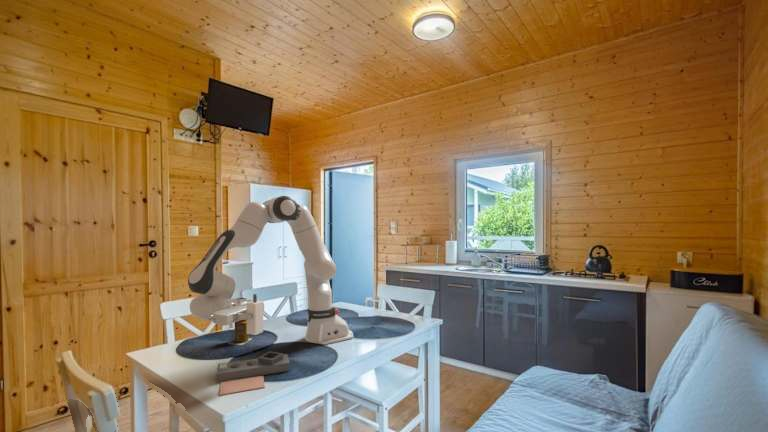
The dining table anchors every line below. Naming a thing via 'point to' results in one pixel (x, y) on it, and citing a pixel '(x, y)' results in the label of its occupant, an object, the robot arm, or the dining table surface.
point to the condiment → (241, 333)
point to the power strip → (253, 367)
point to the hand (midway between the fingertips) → (256, 314)
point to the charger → (255, 316)
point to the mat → (241, 385)
